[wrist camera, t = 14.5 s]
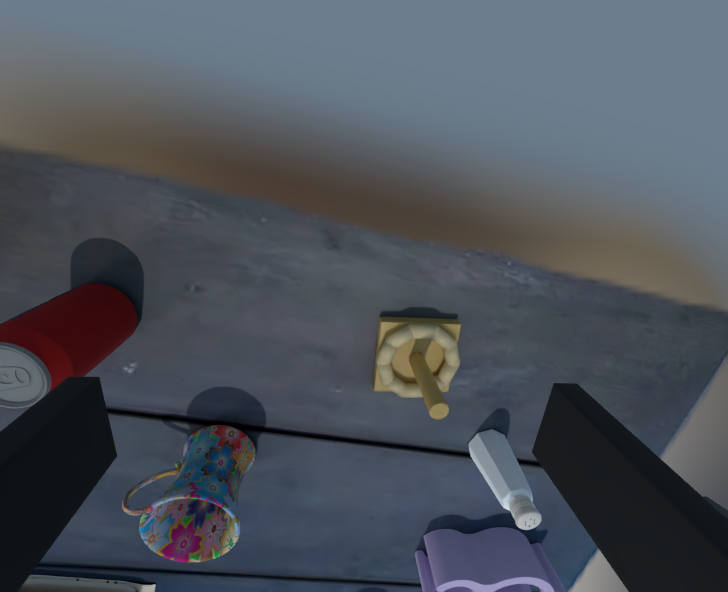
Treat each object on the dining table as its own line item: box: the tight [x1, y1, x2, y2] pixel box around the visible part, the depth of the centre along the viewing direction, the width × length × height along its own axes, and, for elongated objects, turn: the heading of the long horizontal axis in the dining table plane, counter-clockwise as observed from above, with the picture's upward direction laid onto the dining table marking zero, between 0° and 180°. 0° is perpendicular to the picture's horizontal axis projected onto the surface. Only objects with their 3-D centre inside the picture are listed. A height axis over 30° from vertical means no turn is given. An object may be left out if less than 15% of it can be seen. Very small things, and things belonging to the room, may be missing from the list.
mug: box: [122, 425, 256, 562], centre depth 38 cm, size 12×9×11 cm
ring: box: [376, 323, 460, 398], centre depth 39 cm, size 9×10×2 cm
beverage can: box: [0, 283, 137, 408], centre depth 30 cm, size 7×7×12 cm
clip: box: [415, 527, 566, 592], centre depth 52 cm, size 20×12×7 cm, turn 72°
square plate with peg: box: [373, 316, 461, 419], centre depth 36 cm, size 9×9×10 cm
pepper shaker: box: [468, 429, 542, 530], centre depth 42 cm, size 5×5×11 cm
